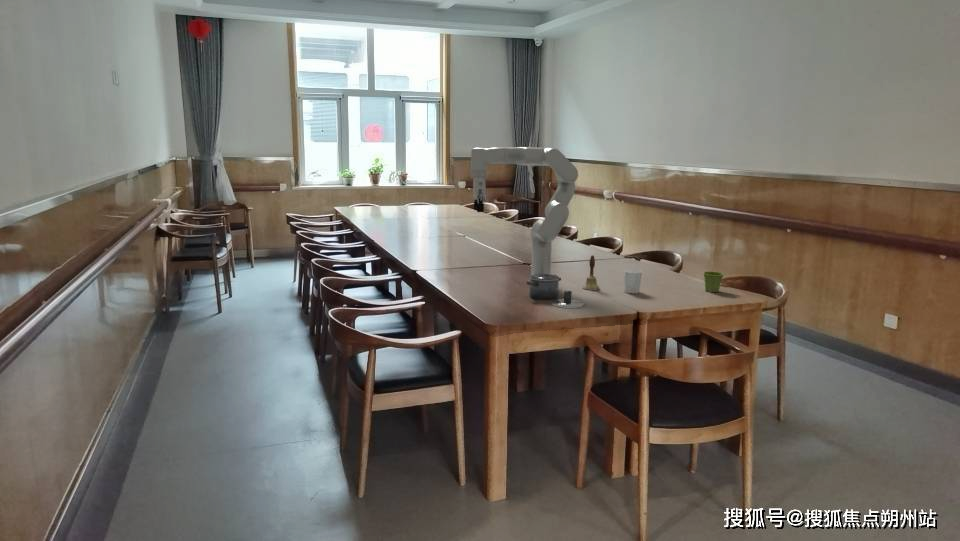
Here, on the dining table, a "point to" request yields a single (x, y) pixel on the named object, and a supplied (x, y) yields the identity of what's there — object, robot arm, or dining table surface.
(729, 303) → the dining table surface
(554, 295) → the pot
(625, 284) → the white cup
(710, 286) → the plant pot
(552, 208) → the robot arm
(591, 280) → the hand bell
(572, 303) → the lid
